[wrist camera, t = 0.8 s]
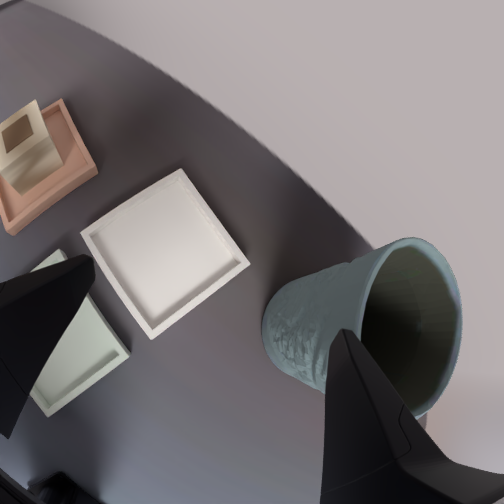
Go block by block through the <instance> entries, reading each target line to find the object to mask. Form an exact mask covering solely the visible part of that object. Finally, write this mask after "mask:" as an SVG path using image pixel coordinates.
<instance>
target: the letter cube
mask: <svg viewBox="0 0 504 504" xmlns="http://www.w3.org/2000/svg"><path fill="white" fill-rule="evenodd" d="M62 166H64V164H63V162H62V160H61V157H60V155H59V153H58V151H57V148H56V146H55V144H54V141H53V139H52V137H51V134H50V132H49V130H48V127H47V125H46V123H45V121H44V118H43V116H42V114H41V111H40V109H39V106H38V104H37V102H36V100H34V101H32V102H31V103H29V104H28V105H26V106H25V107H23V108H22V109H20V110H19V111H18V112H16V113H15V114H13V115H12V116H10V117H9V118H8V119H6V120H5V121H4V122H2V123H1V124H0V175H1V176H2V177H3V178H4V179H5V180H6V181H7V182H8V183H9V184H10V185H11V186H12V187H13V188H14V189H15V190H16V191H17V192H18V193H19V194H20V195H21V196H23V195H24V194H25V193H27V192H28V191H29V190H31V189H32V188H33V187H34V186H36V185H37V184H38V183H40V182H41V181H42V180H44V179H45V178H47V177H48V176H49V175H51V174H52V173H54V172H55V171H56V170H58V169H59V168H61V167H62Z"/></svg>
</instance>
